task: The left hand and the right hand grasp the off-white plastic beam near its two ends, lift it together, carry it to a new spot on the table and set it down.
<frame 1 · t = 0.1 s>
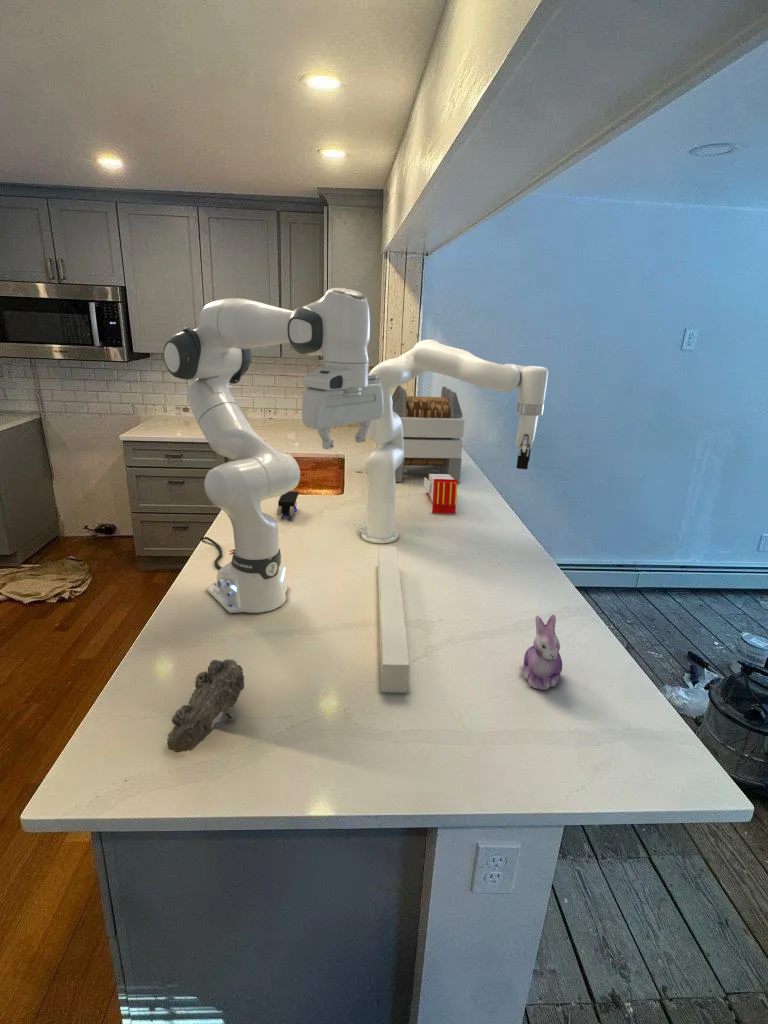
left hand: (344, 445, 117), 48 cm above the counter, tool pointing down, fingers open, 8 cm apart
right hand: (522, 464, 174), 31 cm above the counter, tool pointing down, fingers open, 9 cm apart
toy: (439, 502, 234), on the counter
beam: (389, 618, 145), on the counter
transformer: (419, 473, 275), on the counter
figurine character: (288, 515, 213), on the counter
figurine: (541, 678, 124), on the counter
fossil: (212, 717, 108), on the counter
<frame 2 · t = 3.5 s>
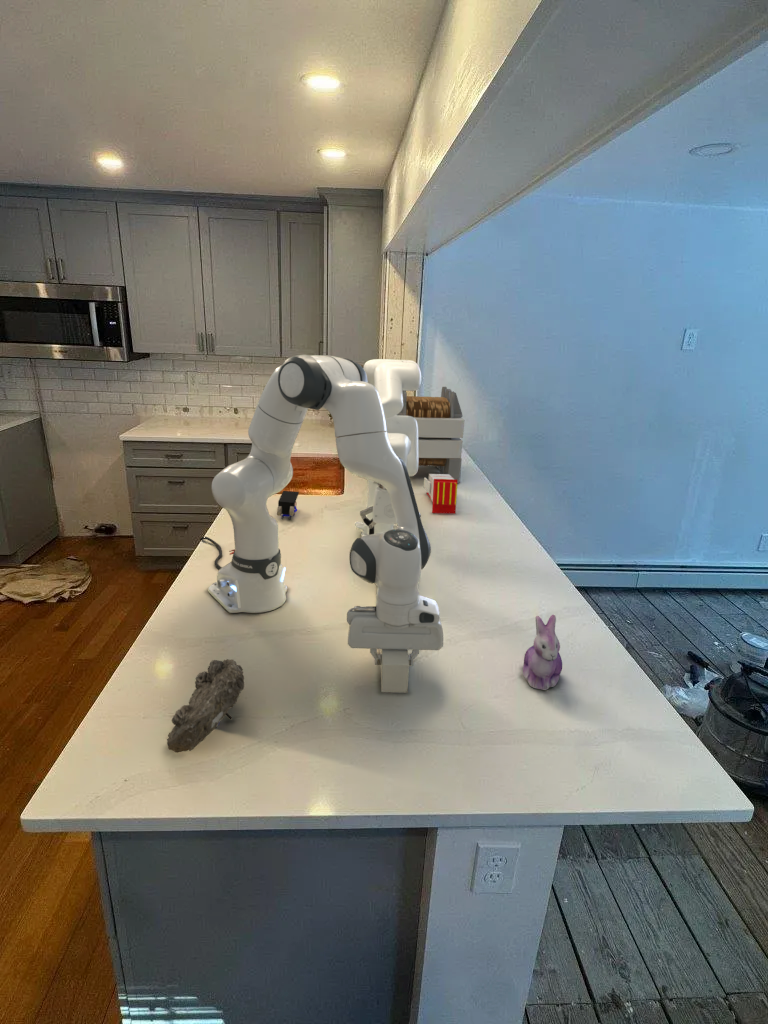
left hand: (394, 663, 122), 3 cm above the counter, tool pointing down, fingers closed on beam, 5 cm apart
right hand: (389, 540, 164), 12 cm above the counter, tool pointing down, fingers open, 9 cm apart
beam: (389, 618, 145), on the counter, touching left hand
everything else where it was.
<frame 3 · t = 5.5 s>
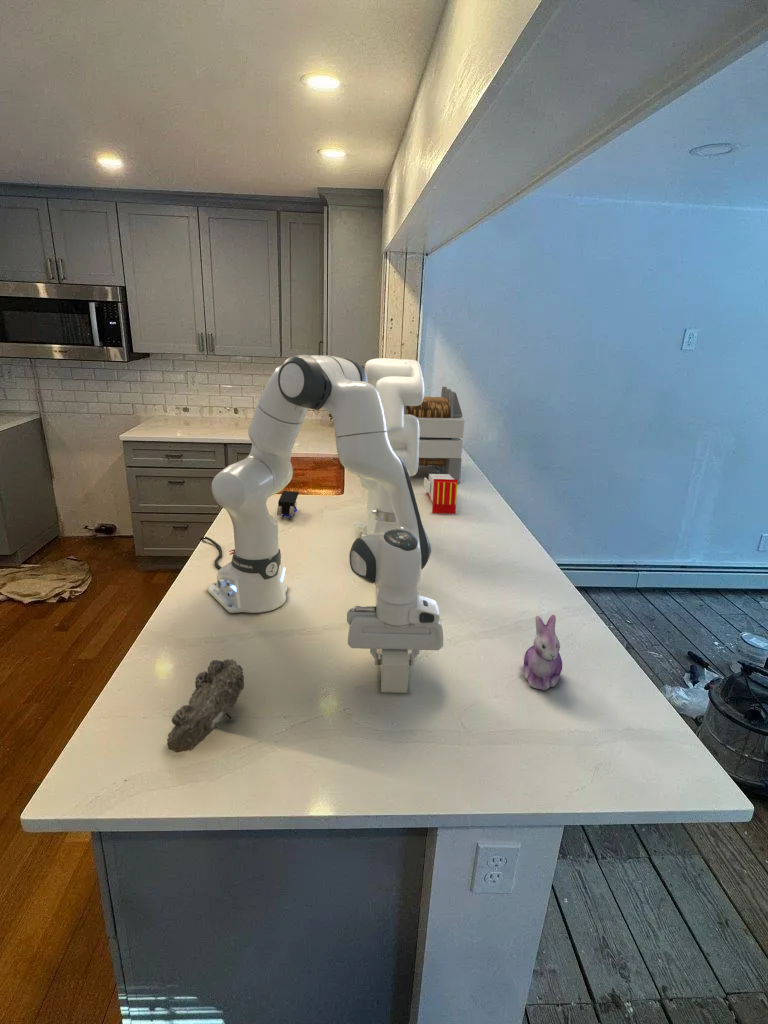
left hand: (394, 663, 122), 3 cm above the counter, tool pointing down, fingers closed on beam, 5 cm apart
right hand: (387, 571, 167), 2 cm above the counter, tool pointing down, fingers closed on beam, 5 cm apart
beam: (389, 618, 145), on the counter, touching right hand, left hand
everything else where it was.
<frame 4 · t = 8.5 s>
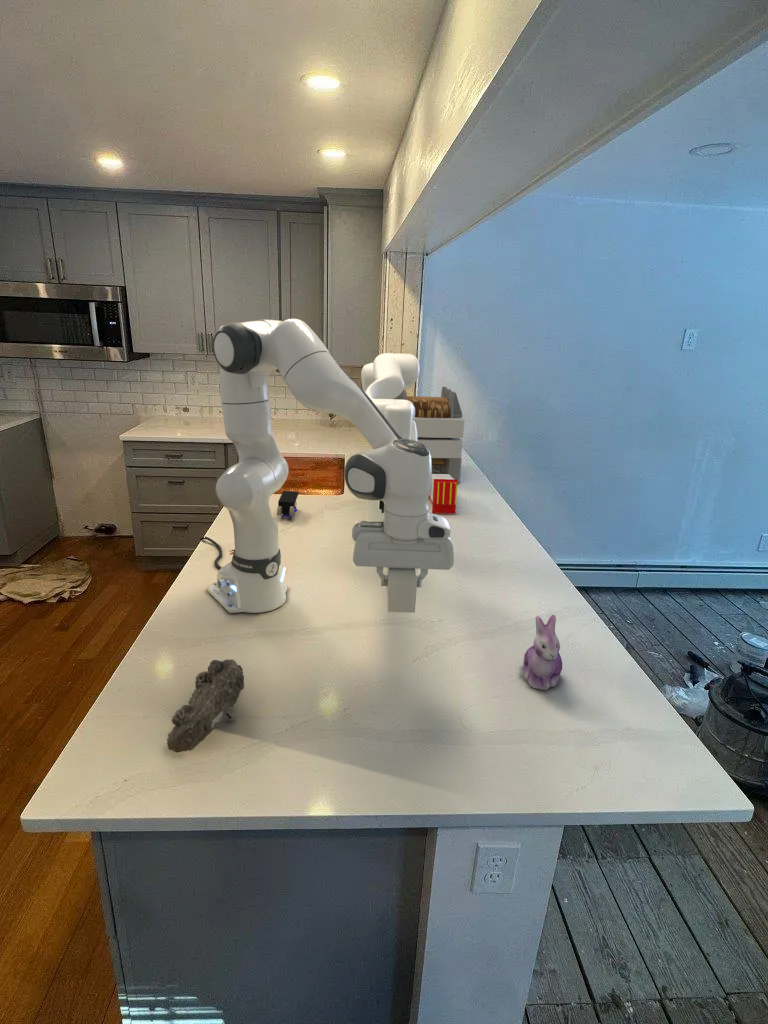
left hand: (400, 585, 116), 21 cm above the counter, tool pointing down, fingers closed on beam, 5 cm apart
right hand: (393, 511, 161), 20 cm above the counter, tool pointing down, fingers closed on beam, 5 cm apart
beam: (396, 550, 140), point 19 cm above the counter, touching right hand, left hand
everything else where it was.
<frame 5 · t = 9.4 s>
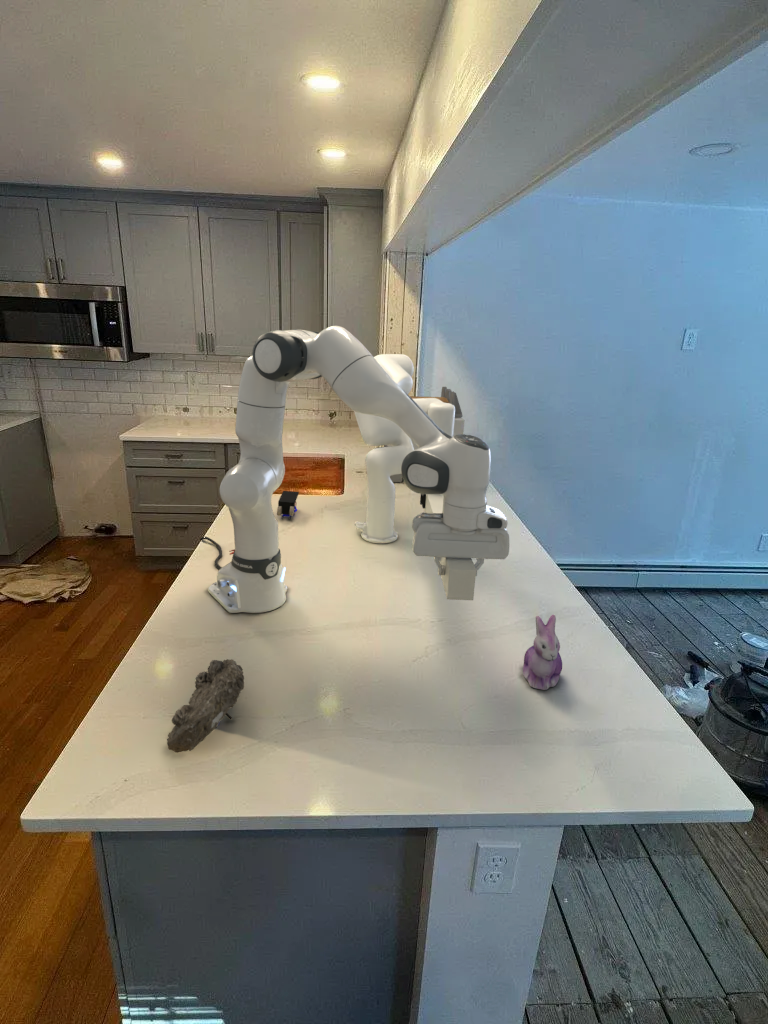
left hand: (457, 574, 122), 22 cm above the counter, tool pointing down, fingers closed on beam, 5 cm apart
right hand: (434, 506, 167), 20 cm above the counter, tool pointing down, fingers closed on beam, 5 cm apart
beam: (442, 543, 145), point 19 cm above the counter, touching right hand, left hand
everything else where it was.
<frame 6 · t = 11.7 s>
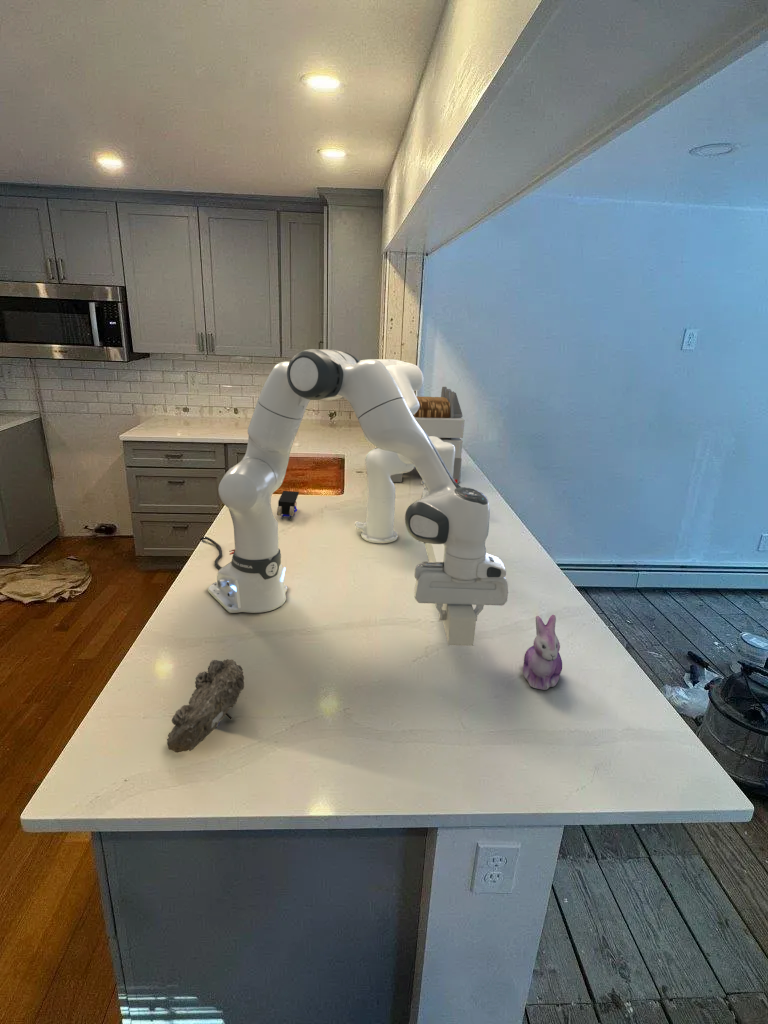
left hand: (457, 619, 126), 10 cm above the counter, tool pointing down, fingers closed on beam, 5 cm apart
right hand: (434, 541, 171), 9 cm above the counter, tool pointing down, fingers closed on beam, 5 cm apart
beam: (443, 582, 149), point 7 cm above the counter, touching right hand, left hand
everything else where it was.
when the right hand's fingers open (3 cm above the counter, at t = 13.4 s): beam drops 1 cm, on the counter.
when the left hand's fingers open (4 cm above the counter, at t = 13.5 s): beam stays where it is, on the counter.
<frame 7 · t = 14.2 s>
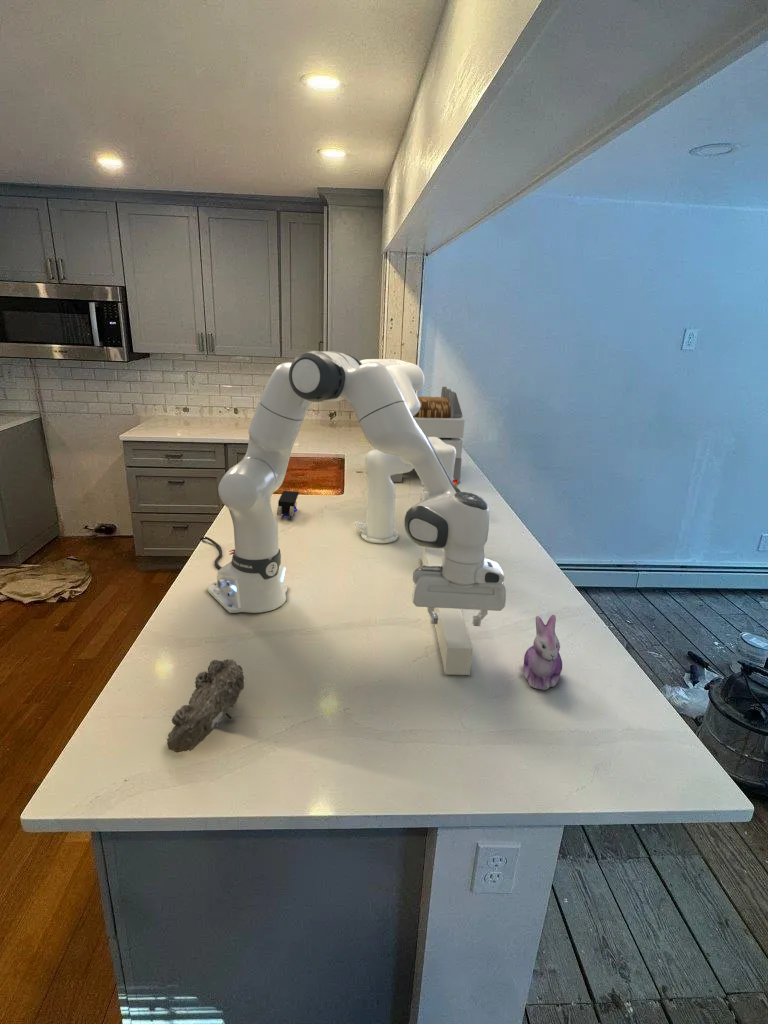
left hand: (455, 623, 126), 9 cm above the counter, tool pointing down, fingers open, 8 cm apart
right hand: (432, 539, 172), 9 cm above the counter, tool pointing down, fingers open, 9 cm apart
beam: (441, 606, 152), on the counter
everything else where it was.
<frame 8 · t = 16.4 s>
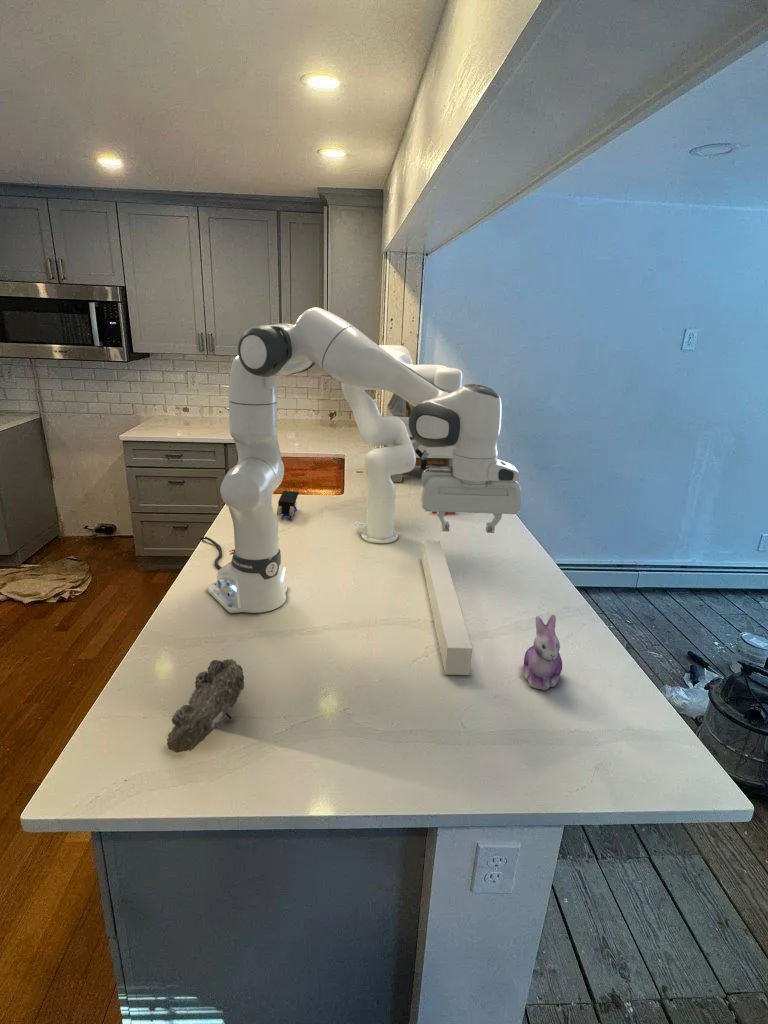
left hand: (467, 531, 119), 32 cm above the counter, tool pointing down, fingers open, 8 cm apart
right hand: (440, 472, 164), 31 cm above the counter, tool pointing down, fingers open, 9 cm apart
nothing on the counter moved.
at the end: beam inside the target area (0.4 cm from its centre), on the counter; beam tilted 0°; beam never tilted more than 1° during the clip; both hands held the beam at the same time; the left hand is holding nothing; the right hand is holding nothing; beam at rest at the end (0.0 cm/s) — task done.
